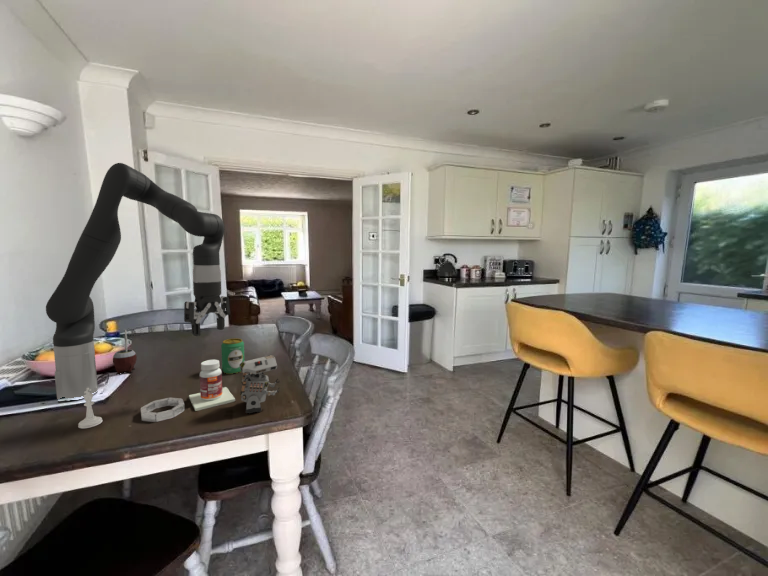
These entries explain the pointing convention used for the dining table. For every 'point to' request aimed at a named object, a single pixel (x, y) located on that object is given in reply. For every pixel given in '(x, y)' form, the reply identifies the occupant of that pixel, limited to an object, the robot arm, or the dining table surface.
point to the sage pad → (203, 404)
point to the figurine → (256, 382)
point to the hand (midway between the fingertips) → (209, 332)
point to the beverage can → (232, 355)
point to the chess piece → (89, 412)
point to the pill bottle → (210, 380)
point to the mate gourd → (124, 359)
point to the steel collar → (164, 415)
